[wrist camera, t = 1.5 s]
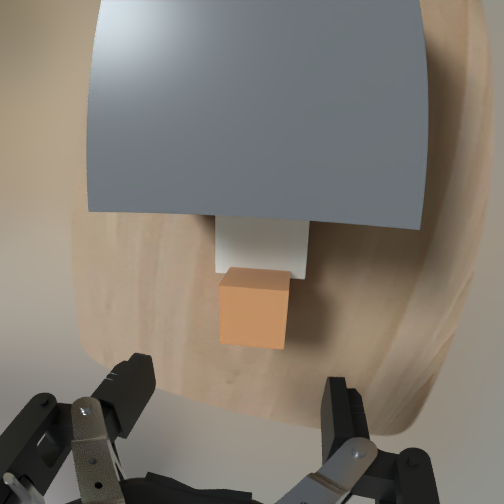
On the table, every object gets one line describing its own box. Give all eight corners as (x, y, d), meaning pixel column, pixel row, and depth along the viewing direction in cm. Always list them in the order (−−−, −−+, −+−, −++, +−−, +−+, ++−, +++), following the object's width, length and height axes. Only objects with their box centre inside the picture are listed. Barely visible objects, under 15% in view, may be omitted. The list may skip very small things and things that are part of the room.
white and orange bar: (227, 38, 18) (208, 10, 13) (313, 39, 17) (318, 9, 13) (221, 306, 24) (204, 341, 19) (299, 313, 23) (299, 350, 19)
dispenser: (180, -7, 17) (121, -72, 8) (365, -7, 16) (398, -84, 6) (170, 200, 22) (90, 233, 13) (365, 211, 21) (415, 254, 11)
